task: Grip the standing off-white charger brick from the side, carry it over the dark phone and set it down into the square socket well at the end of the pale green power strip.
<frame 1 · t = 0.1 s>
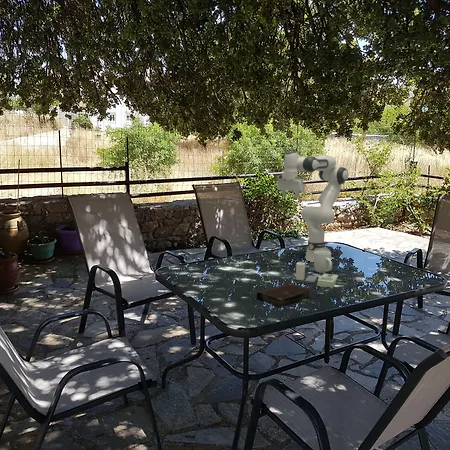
hand: (289, 197, 292), 48 cm above the table, tool pointing down, fingers open, 8 cm apart
charger: (300, 279, 276), on the table
diary: (284, 299, 241), on the table
power strip: (327, 282, 270), on the table
mug: (322, 272, 291), on the table
phone: (311, 280, 273), on the table
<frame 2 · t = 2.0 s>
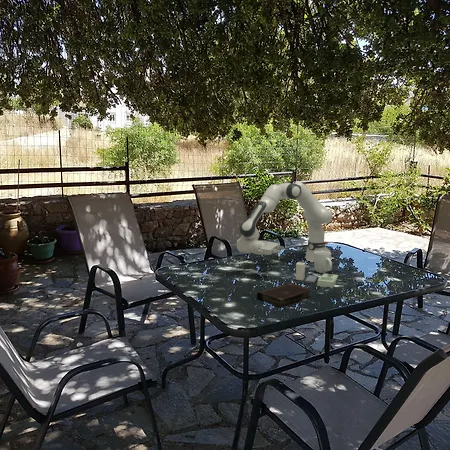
hand: (282, 249, 277), 17 cm above the table, tool horizontal, fingers open, 8 cm apart
nothing on the table moved.
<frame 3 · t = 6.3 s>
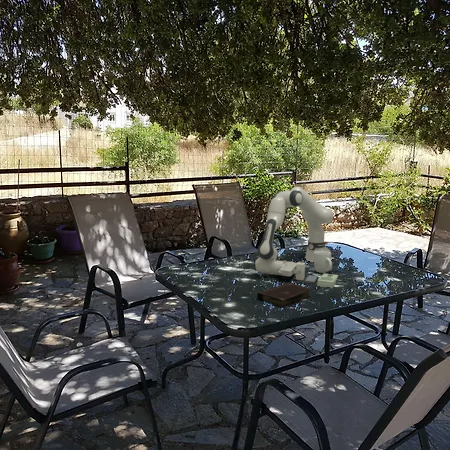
hand: (301, 270, 275), 6 cm above the table, tool horizontal, fingers closed on charger, 4 cm apart
charger: (300, 278, 276), on the table, touching gripper
everything else where it was.
when the fingers open (9 cm above the table, at t = 11.3 s): charger drops 2 cm, resting on power strip.
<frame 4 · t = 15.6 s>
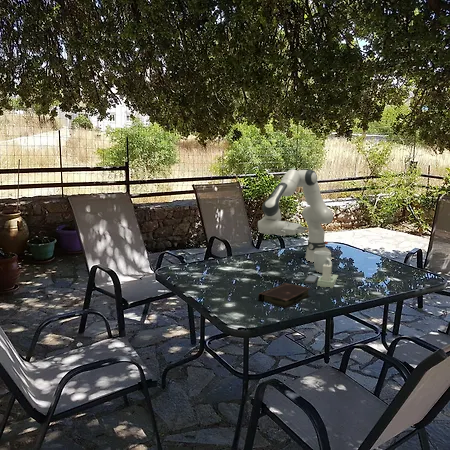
hand: (305, 230, 265), 32 cm above the table, tool horizontal, fingers open, 8 cm apart
charger: (326, 281, 264), point 2 cm above the table, touching power strip
at the end: charger inside the target area (0.0 cm from its centre), point 2.0 cm above the table; charger tilted 0°; the gripper is holding nothing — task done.
